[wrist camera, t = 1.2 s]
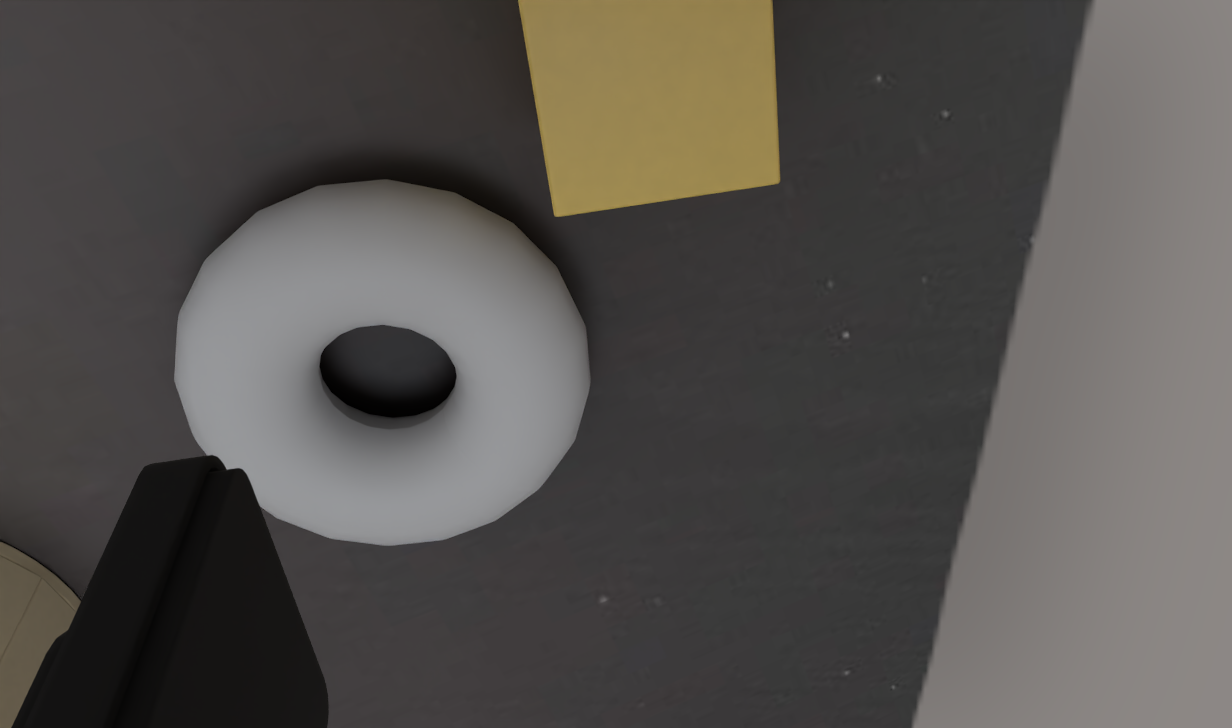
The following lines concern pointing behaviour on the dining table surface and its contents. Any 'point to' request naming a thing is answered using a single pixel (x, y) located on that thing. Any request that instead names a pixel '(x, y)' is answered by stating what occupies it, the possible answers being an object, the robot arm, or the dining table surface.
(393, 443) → the donut
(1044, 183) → the dining table surface
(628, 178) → the cheese
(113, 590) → the robot arm
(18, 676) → the pot
